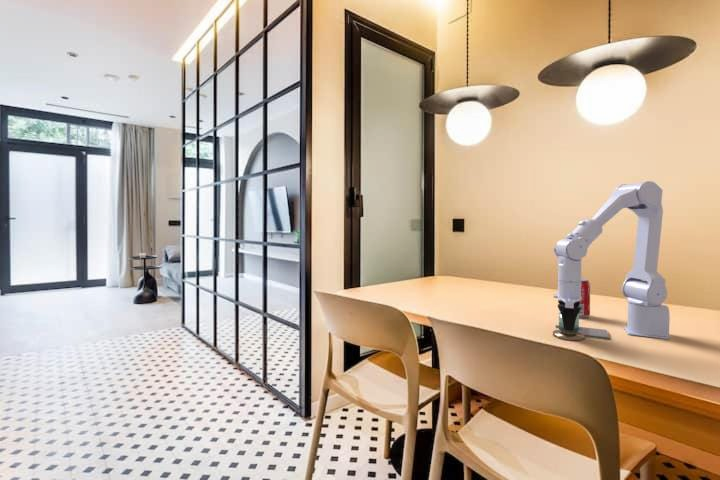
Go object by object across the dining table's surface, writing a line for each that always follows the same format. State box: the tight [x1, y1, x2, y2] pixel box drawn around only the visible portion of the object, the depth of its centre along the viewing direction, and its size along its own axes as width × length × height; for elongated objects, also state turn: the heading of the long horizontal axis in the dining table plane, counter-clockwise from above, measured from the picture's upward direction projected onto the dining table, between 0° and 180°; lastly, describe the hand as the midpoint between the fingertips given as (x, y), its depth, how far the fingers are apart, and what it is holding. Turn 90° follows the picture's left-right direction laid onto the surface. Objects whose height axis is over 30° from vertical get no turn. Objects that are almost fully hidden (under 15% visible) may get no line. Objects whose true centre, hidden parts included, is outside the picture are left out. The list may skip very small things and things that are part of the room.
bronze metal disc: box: [552, 329, 586, 342], centre depth 106 cm, size 8×8×2 cm
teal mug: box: [555, 312, 582, 332], centre depth 105 cm, size 7×5×4 cm
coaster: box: [578, 326, 611, 340], centre depth 108 cm, size 8×8×1 cm
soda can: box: [578, 277, 591, 319], centre depth 127 cm, size 7×7×13 cm
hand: (568, 327), depth 105 cm, fingers closed on teal mug, 5 cm apart
